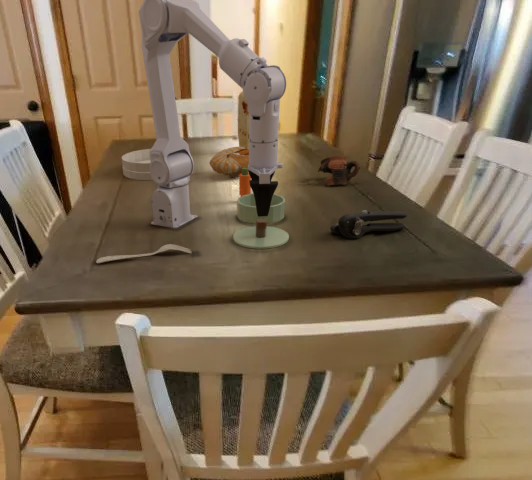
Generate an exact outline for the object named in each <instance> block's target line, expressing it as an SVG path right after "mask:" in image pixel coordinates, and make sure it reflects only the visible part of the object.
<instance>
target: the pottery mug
mask: <svg viewBox="0 0 532 480" xmlns="http://www.w3.org/2000/svg"><path fill="white" fill-rule="evenodd" d="M353 168H354V169H353ZM352 169H353V171H352ZM360 170H361V167H360V163H359V162H358V161H356V160H351V161H347V158H346V156H343V155H334V156H329V157H325V158H323V159H322V160H321V161H320V166H319V167H318V170H317V172H318V173H320V172H321V173H324V174H326V173H327V174H332V176H328V177H326V178H325V182H326V187H329V186H335V185H337V186H346V184H347V181H348V182H349V181H351V179H352V178H354V177H356V176H357V175H358V174H359V172H360ZM351 171H352V172H351Z"/></svg>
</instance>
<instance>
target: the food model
mask: <svg viewBox="0 0 532 480" xmlns="http://www.w3.org/2000/svg"><path fill="white" fill-rule="evenodd" d="M237 138H238V147H244V148H249V112H248V103H247V101H246V99H245V97H244V94H243V90H242V91H240V92H239V95H238V106H237Z"/></svg>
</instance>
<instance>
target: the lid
mask: <svg viewBox="0 0 532 480" xmlns="http://www.w3.org/2000/svg"><path fill="white" fill-rule="evenodd" d="M289 240H290V235H289V233H288V232H287V231H286V230H284V229H282V228H278V227H274V226H268V223H267V220H265V219H258V220H256V224H255V226H248V227H244V228H241V229H239V230H237V231H235V232H234V233H233V235H232V241H233V242H234V243H235V244H237V245H238V246H241V247H244V248H248V249H253V250H254V249H256V250H257V249H258V250H267V249H268V250H269V249H274V248H277V247H278V248H279V247H281V246H283V245H285V244H286V243H288V242H289Z"/></svg>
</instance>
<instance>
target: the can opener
mask: <svg viewBox="0 0 532 480" xmlns="http://www.w3.org/2000/svg"><path fill="white" fill-rule="evenodd" d="M407 217H408V215H407V214H406V213H405V212H402V211H386V210H383V211H382V210H380V211H379V210H375V211H368V210H366V209H364V210H361V211H360V212H355V213H347V214H343V215H342V216H341V217H340V218H339V219H338V221H337V223H335V224H332V225H331V226H330V228H329V230H330V231H331V232H332V233H334V234H336V235H338V236H343V237H344V238H347V239H351V240H357V239H359V238H361V237H362V236H363V235H364V234H366V233H369V232H395V231H400V230H403V229H404V228H406V226H405V224H404V223H402V222H379V221H389V220H401V219H402V220H403V219H405V218H407ZM366 222H371V223H366ZM373 222H374V223H373ZM375 222H376V223H375ZM365 223H366V224H365Z"/></svg>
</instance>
